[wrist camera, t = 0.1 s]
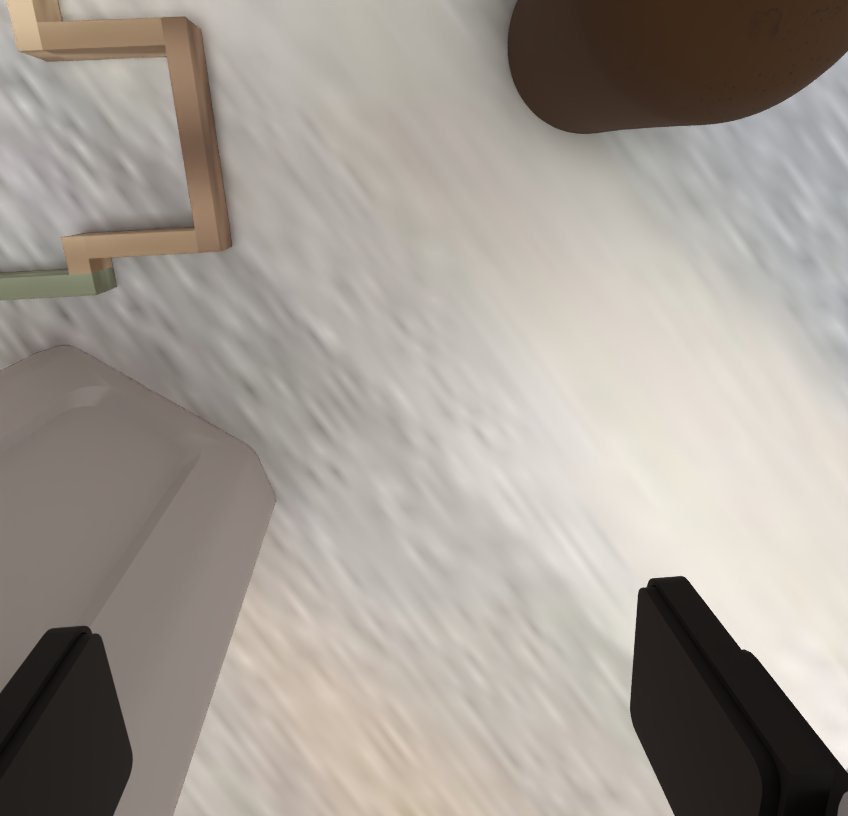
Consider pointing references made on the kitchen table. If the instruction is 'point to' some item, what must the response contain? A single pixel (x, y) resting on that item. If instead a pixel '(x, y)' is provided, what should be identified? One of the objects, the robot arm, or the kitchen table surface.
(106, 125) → the kitchen table surface
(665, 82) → the olive oil
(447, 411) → the kitchen table surface
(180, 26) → the zigzag wooden frame
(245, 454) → the paper bag
